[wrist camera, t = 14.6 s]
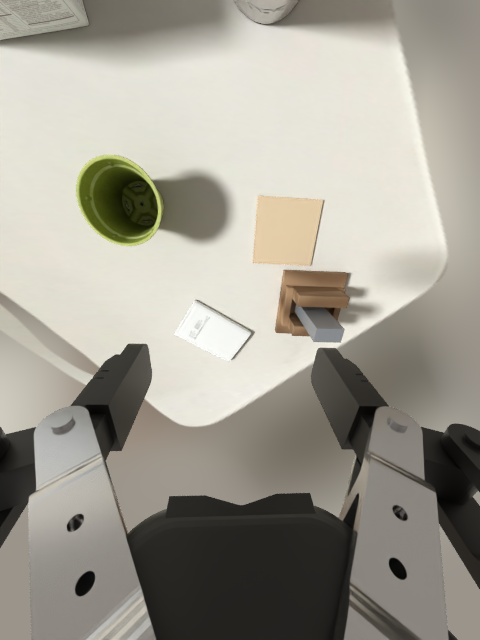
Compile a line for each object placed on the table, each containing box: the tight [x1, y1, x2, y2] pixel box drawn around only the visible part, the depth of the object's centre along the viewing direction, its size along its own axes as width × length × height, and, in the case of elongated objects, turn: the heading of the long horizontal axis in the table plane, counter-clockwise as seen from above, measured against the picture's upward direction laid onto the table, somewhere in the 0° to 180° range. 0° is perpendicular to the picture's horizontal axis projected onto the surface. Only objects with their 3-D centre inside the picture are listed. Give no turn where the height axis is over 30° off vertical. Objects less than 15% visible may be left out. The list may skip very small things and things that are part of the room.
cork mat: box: [253, 196, 323, 266], centre depth 37 cm, size 10×10×1 cm
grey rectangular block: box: [295, 305, 344, 342], centre depth 37 cm, size 2×4×10 cm, turn 87°
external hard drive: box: [174, 300, 251, 362], centre depth 44 cm, size 2×8×12 cm
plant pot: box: [76, 155, 164, 246], centre depth 30 cm, size 9×9×9 cm
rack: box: [275, 270, 350, 336], centre depth 40 cm, size 12×11×6 cm
